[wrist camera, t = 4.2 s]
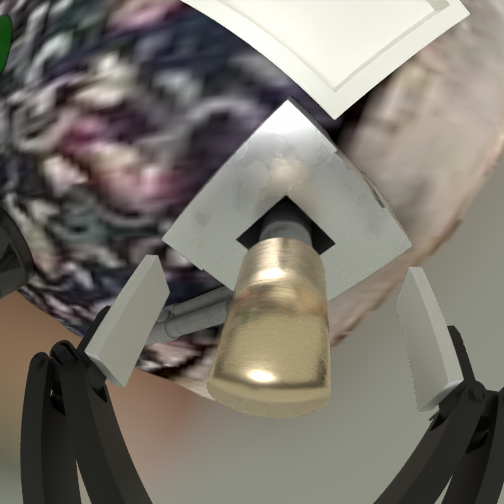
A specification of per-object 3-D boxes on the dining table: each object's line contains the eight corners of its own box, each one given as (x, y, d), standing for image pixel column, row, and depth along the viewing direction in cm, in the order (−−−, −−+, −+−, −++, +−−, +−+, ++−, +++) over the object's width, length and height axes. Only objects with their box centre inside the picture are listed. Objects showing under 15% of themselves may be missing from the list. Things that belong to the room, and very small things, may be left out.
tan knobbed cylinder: (288, 233, 23) (268, 423, 10) (250, 199, 22) (185, 386, 9) (327, 201, 21) (354, 400, 8) (289, 162, 20) (267, 352, 7)
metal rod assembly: (121, 336, 39) (108, 360, 35) (109, 325, 38) (95, 349, 34) (250, 290, 28) (241, 327, 24) (234, 271, 27) (223, 308, 23)
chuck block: (285, 279, 26) (281, 327, 22) (190, 200, 23) (161, 239, 18) (388, 204, 20) (412, 245, 15) (289, 95, 17) (287, 100, 12)
